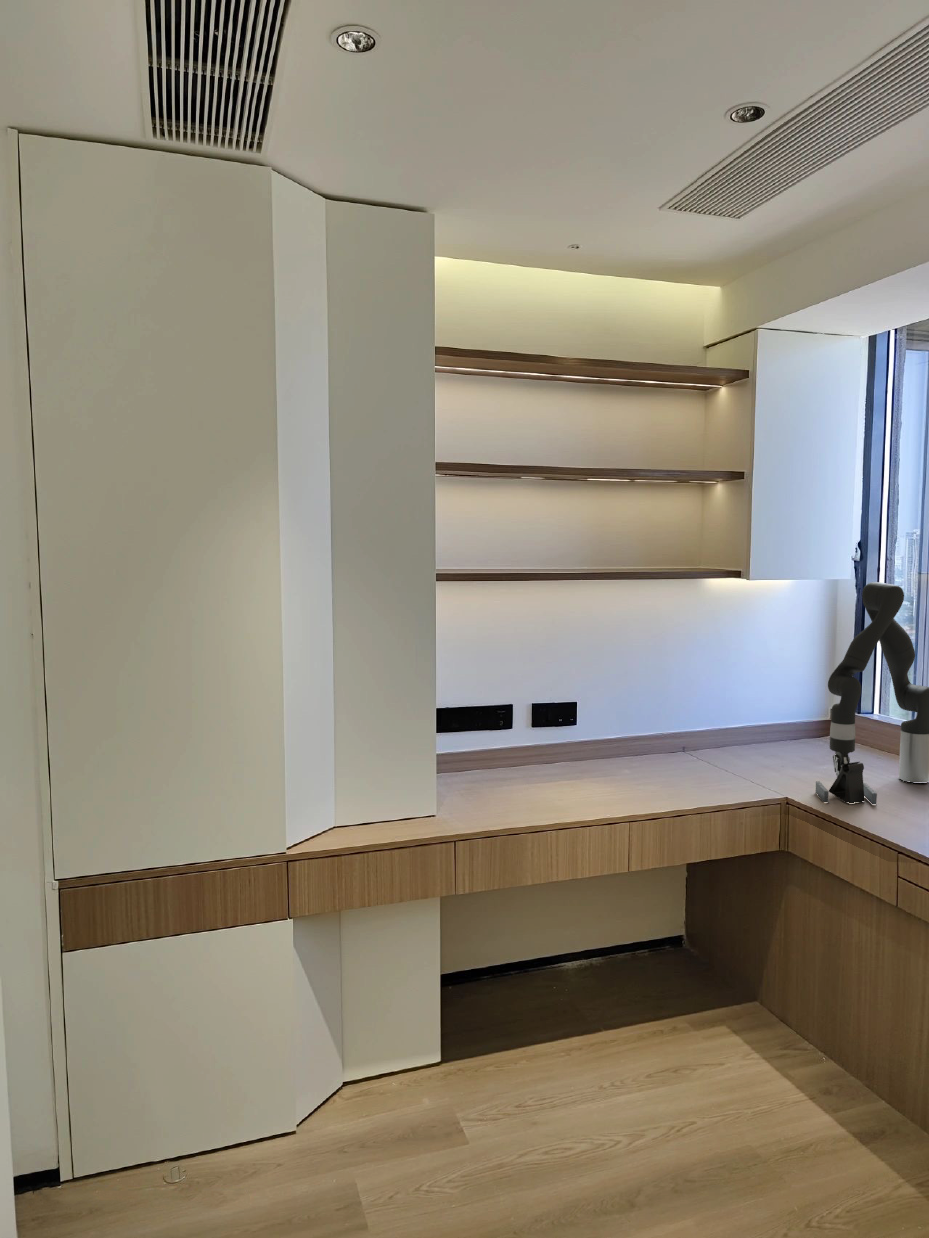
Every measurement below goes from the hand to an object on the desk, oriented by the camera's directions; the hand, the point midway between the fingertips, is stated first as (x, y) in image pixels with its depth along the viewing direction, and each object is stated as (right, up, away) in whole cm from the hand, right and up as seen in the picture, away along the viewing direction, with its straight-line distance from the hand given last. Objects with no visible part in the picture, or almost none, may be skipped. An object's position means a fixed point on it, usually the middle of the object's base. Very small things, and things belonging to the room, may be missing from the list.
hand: (840, 787), depth 268 cm
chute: (-1, -3, -5) cm, 6 cm away
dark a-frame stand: (-1, -2, -6) cm, 6 cm away
